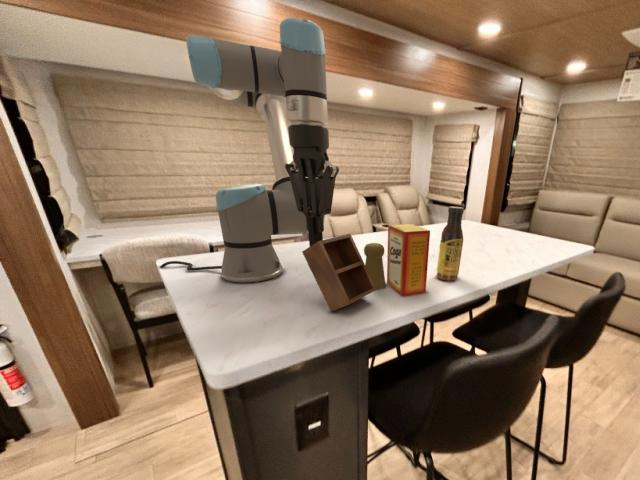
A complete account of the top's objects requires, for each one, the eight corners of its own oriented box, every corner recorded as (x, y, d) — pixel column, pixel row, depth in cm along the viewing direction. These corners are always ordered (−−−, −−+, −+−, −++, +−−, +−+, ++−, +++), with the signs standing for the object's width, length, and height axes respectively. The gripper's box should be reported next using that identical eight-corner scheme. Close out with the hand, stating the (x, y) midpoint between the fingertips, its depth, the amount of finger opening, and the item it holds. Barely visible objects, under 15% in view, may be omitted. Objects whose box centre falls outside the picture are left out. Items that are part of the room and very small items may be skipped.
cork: (382, 289, 79) (382, 247, 75) (359, 287, 80) (358, 245, 76) (387, 282, 84) (388, 242, 80) (366, 279, 85) (366, 240, 81)
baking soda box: (386, 283, 83) (388, 223, 77) (408, 280, 86) (411, 222, 80) (402, 296, 76) (405, 230, 69) (425, 292, 78) (430, 229, 72)
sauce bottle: (443, 282, 85) (450, 208, 78) (432, 275, 91) (438, 205, 83) (463, 280, 88) (472, 208, 80) (451, 273, 93) (458, 205, 85)
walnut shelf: (301, 251, 65) (318, 241, 61) (334, 243, 73) (350, 233, 69) (330, 311, 66) (348, 304, 63) (359, 297, 74) (376, 290, 71)
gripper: (269, 123, 59) (282, 244, 69) (319, 122, 53) (326, 254, 63) (299, 128, 65) (308, 239, 75) (347, 127, 59) (349, 247, 69)
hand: (316, 246), depth 69 cm, fingers closed
